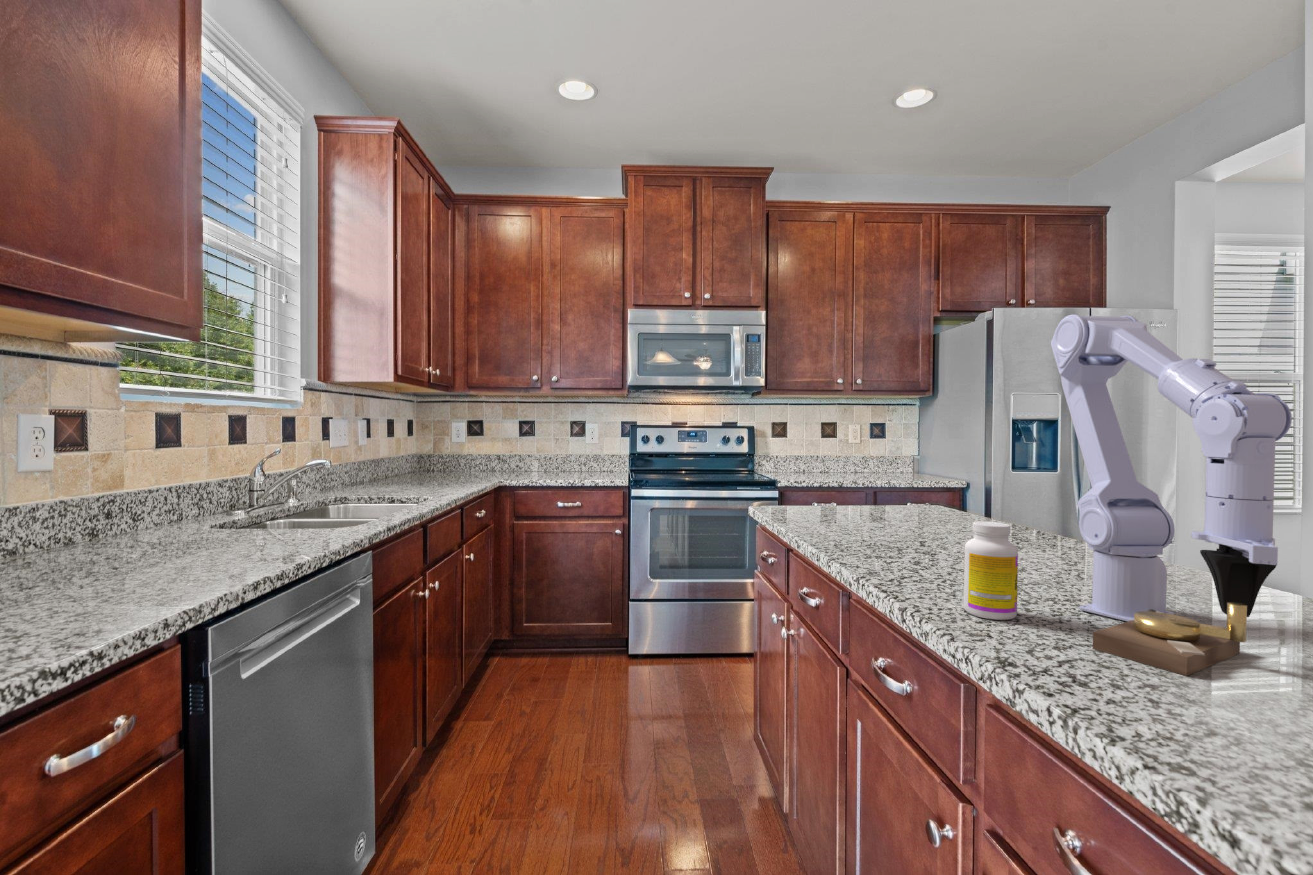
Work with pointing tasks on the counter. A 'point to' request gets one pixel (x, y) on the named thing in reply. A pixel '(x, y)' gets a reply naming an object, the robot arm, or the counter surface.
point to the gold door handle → (1193, 625)
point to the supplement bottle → (991, 572)
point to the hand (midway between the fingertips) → (1235, 614)
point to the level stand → (1164, 648)
